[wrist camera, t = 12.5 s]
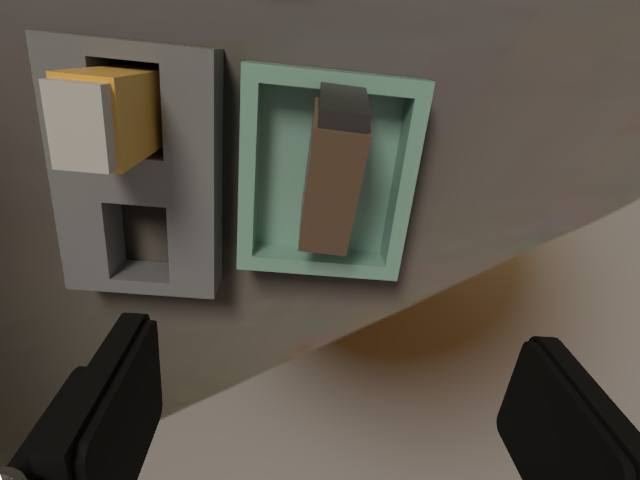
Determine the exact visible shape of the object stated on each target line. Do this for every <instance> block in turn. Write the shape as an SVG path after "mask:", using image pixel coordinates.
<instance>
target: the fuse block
mask: <svg viewBox="0 0 640 480" xmlns="http://www.w3.org/2000/svg"><path fill="white" fill-rule="evenodd" d="M25 33H26V40H27V46H28V52H29V59H30V65H31V71H32V77H33V84H34V90H35V96H36V103H37V109H38V115H39V122H40V128H41V134H42V141H43V147H44V153H45V160H46V166H47V172H48V179H49V185H50V191H51V198H52V204H53V210H54V216H55V223H56V229H57V235H58V242H59V248H60V254H61V261H62V267H63V273H64V280H65V286H66V289H73V290H87V291H101V292H116V293H130V294H144V295H158V296H172V297H186V298H201V299H214V298H215V296H216V293H217V290H218V288H219V285H220V283H221V280H222V211H223V71H224V49H218V48H208V47H199V46H189V45H179V44H170V43H160V42H151V41H141V40H131V39H122V38H112V37H102V36H93V35H83V34H74V33H64V32H54V31H37V30H25ZM108 58H111V59H121V60H131V61H141V62H151V63H159V72H160V93H161V114H162V135H163V149H159V150H157V151H156V152H154V153H153V154H151V155H150V156H148V157H147V158H146V159H144V160H143V161H141V162H140V163H138V164H137V165H135V166H134V167H132V168H131V169H129V170H128V171H126V172H125V173H124V174H113V173H111V174H98V173H87V172H75V171H63V170H52V164H51V158H50V151H49V145H48V138H47V132H46V125H45V119H44V112H43V106H42V99H41V93H40V86H39V80H38V79H42V78H46V71H52V70H63V69H74V68H84V67H95V66H106V65H109V61H108ZM122 204H125V205H137V206H149V207H162V208H166V218H167V239H168V260H169V263H165V262H151V261H138V260H127V258H126V248H125V237H124V226H123V215H122Z"/></svg>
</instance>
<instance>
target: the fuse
mask: <svg viewBox="0 0 640 480" xmlns="http://www.w3.org/2000/svg"><path fill="white" fill-rule="evenodd" d="M38 80H39V86H40V93H41V99H42V106H43V112H44V119H45V125H46V132H47V138H48V145H49V151H50V158H51V164H52V170H63V171H75V172H87V173H98V174H111V173H113V174H124V173H125V172H126V171H128V170H129V169H131V168H132V167H134V166H135V165H137V164H138V163H140V162H141V161H143V160H144V159H146V158H147V157H148V156H150V155H151V154H153V153H154V152H156V151H157V150H159V149H160V148H162V147H163V135H162V114H161V93H160V72H159V69H157V68H147V67H137V66H127V65H118V64H117V65H106V66H95V67H84V68H74V69H63V70H52V71H46V78H42V79H38Z"/></svg>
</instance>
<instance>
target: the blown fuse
mask: <svg viewBox="0 0 640 480" xmlns="http://www.w3.org/2000/svg"><path fill="white" fill-rule="evenodd" d="M371 118H372V114H371V109H370V104H369V99H368V94H367V90H366V88H364V87H356V86H349V85H342V84H334V83H327V82H321V84H320V91H319V97H315V102H314V110H313V118H312V126H311V134H310V142H309V150H308V159H307V167H306V175H305V183H304V191H303V199H302V207H301V218H300V230H299V243H298V251H302V252H311V253H321V254H330V255H339V256H346V254H347V250H348V245H349V241H350V236H351V232H352V227H353V222H354V218H355V213H356V209H357V204H358V200H359V195H360V191H361V186H362V181H363V177H364V172H365V168H366V163H367V159H368V154H369V150H370V145H371V140H372V133H371V128H370V123H371Z"/></svg>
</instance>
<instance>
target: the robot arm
mask: <svg viewBox="0 0 640 480" xmlns="http://www.w3.org/2000/svg"><path fill="white" fill-rule="evenodd" d="M161 412H162V390H161V375H160V360H159V345H158V331H157V322H156V321H155V320H150V318H149V315H148V314H138V313H122V314H121V316H120V317H119V319H118V320H117V322H116V323H115V325H114V326H113V328H112V329H111V331H110V332H109V334H108V335H107V337H106V338H105V340H104V341H103V343H102V344H101V346H100V347H99V349H98V350H97V352H96V353H95V355H94V357H93V358H92V360H91V361H90V363H89V364H88V366H87V367H83V366H79V367H77V368H75V370H74V371H73V372H72V373H71V374H70V376H69V377H68V379H67V380H66V382H65V383H64V384H63V386H62V387H61V389H60V390H59V392H58V393H57V395H56V396H55V397H54V399H53V400H52V402H51V403H50V405H49V406H48V408H47V409H46V410H45V412H44V413H43V415H42V416H41V418H40V419H39V421H38V422H37V423H36V425H35V426H34V428H33V429H32V431H31V432H30V434H29V435H28V436H27V438H26V439H25V441H24V442H23V444H22V445H21V447H20V448H19V449H18V451H17V452H16V454H15V455H14V457H13V458H12V460H11V461H10V462H9V464H8V465H7V467H5V466H0V480H137V479H138V476H139V473H140V471H141V468H142V465H143V463H144V460H145V457H146V455H147V452H148V449H149V446H150V444H151V441H152V438H153V436H154V433H155V431H156V428H157V425H158V423H159V420H160V417H161ZM497 429H498V432H499V434H500V436H501V438H502V440H503V442H504V444H505V446H506V448H507V450H508V452H509V454H510V456H511V458H512V460H513V462H514V464H515V466H516V468H517V470H518V472H519V474H520V476H521V478H522V480H640V432H639V431H638V430H637V429H636V428H635V426H634V425H633V424H632V423H631V422H630V421H629V420H628V418H627V417H626V416H625V415H624V414H623V413H622V411H621V410H620V409H619V408H618V407H617V406H616V404H615V403H614V402H613V401H612V400H611V399H610V398H609V396H608V395H607V394H606V393H605V392H604V391H603V389H602V388H601V387H600V386H599V385H598V384H597V382H596V381H595V380H594V379H593V378H592V377H591V376H590V375H589V373H588V372H587V371H586V370H585V369H584V368H583V366H582V365H581V364H580V363H579V362H578V361H577V359H576V358H575V357H574V356H573V355H572V354H571V352H570V351H569V350H568V349H567V348H566V347H565V346H564V344H563V343H562V342H561V341H560V340H559V339H558V338H554V337H539V336H534V337H531V338H530V340H529V341H527V342H525V343H524V344H523V346H522V348H521V351H520V354H519V357H518V359H517V362H516V366H515V368H514V371H513V374H512V376H511V379H510V382H509V385H508V388H507V391H506V394H505V396H504V399H503V402H502V405H501V407H500V410H499V413H498V416H497Z"/></svg>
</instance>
